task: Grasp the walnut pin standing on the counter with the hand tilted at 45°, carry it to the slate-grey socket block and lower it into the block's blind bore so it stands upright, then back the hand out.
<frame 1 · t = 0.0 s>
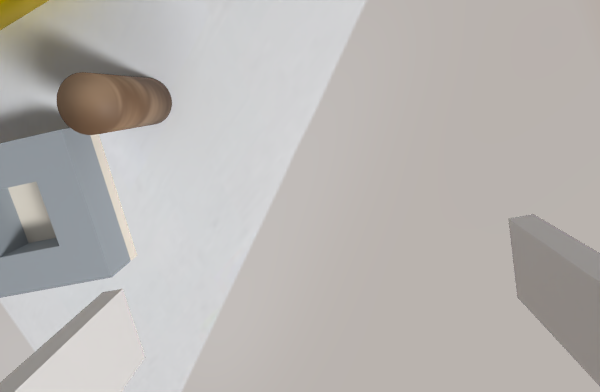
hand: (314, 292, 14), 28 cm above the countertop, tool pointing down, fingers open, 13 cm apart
pin: (149, 101, 41), on the countertop
socket block: (54, 205, 44), on the countertop
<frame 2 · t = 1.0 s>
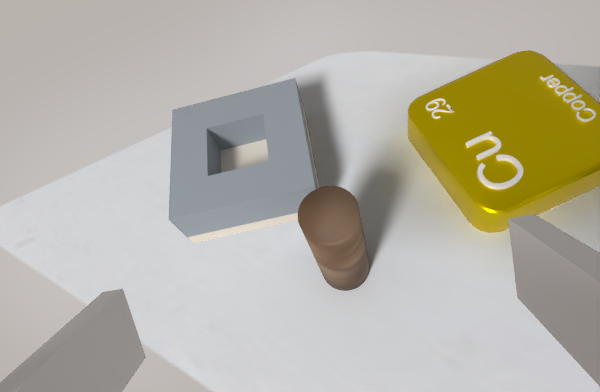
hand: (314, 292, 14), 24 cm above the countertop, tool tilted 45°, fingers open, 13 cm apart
pin: (345, 267, 40), on the countertop
element tile: (503, 151, 43), on the countertop
socket block: (252, 173, 47), on the countertop
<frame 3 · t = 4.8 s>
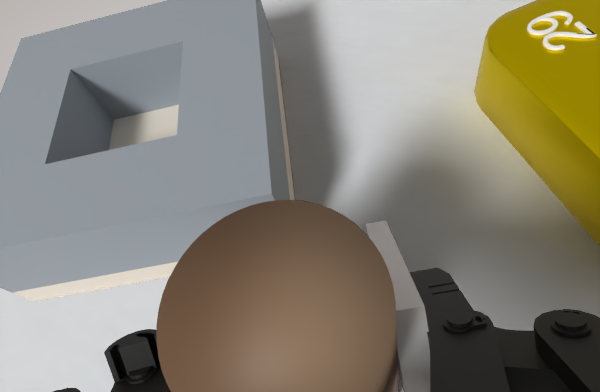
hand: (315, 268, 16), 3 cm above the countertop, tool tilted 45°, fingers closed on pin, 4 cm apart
pin: (341, 385, 17), on the countertop, touching gripper
socket block: (170, 164, 25), on the countertop
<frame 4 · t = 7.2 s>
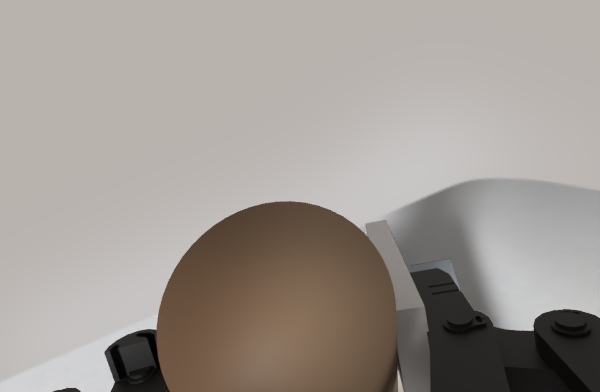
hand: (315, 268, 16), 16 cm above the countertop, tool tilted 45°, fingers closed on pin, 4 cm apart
pin: (341, 386, 17), point 13 cm above the countertop, touching gripper
when the fingers open (7 cm above the countertop, at t = 9.7 s): pin drops 2 cm, resting on socket block.
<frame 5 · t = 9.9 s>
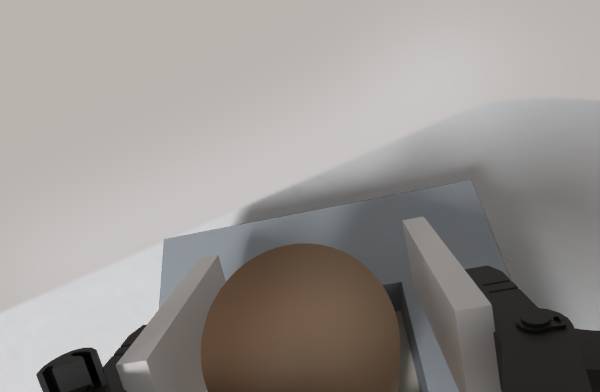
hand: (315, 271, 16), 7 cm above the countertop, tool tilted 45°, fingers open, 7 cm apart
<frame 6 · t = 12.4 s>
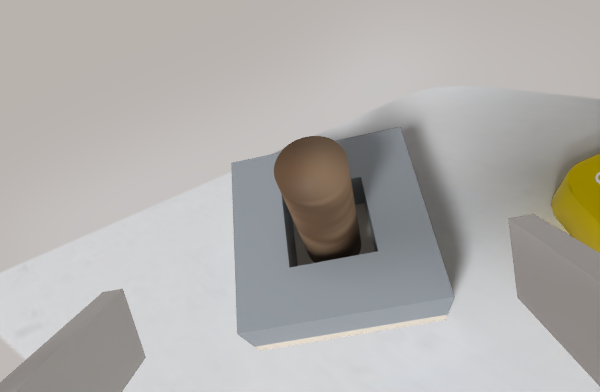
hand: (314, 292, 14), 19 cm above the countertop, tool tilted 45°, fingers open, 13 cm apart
pin: (333, 243, 34), point 2 cm above the countertop, touching socket block
socket block: (335, 250, 35), on the countertop
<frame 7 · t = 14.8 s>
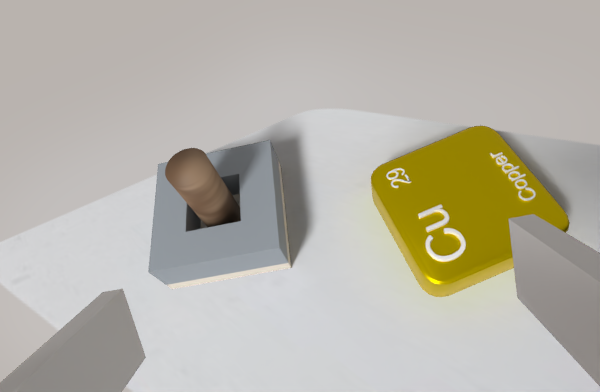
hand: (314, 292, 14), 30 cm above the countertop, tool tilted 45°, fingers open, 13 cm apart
pin: (225, 219, 50), point 2 cm above the countertop, touching socket block
element tile: (457, 217, 47), on the countertop
socket block: (229, 224, 52), on the countertop
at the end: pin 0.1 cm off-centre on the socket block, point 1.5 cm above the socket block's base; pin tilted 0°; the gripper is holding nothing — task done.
